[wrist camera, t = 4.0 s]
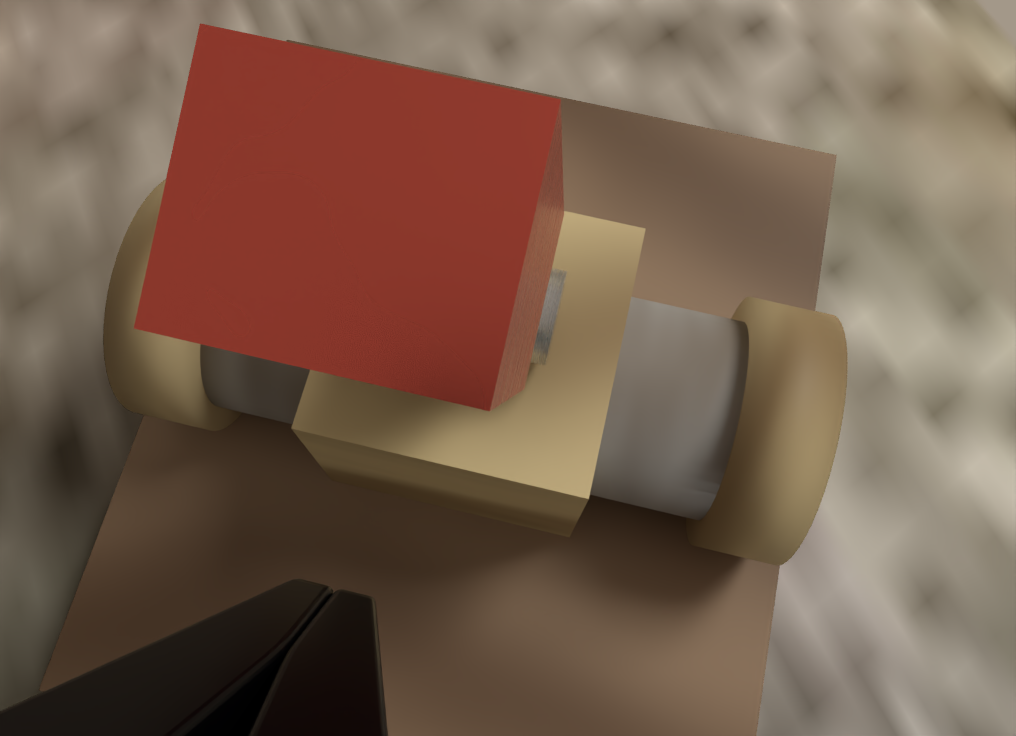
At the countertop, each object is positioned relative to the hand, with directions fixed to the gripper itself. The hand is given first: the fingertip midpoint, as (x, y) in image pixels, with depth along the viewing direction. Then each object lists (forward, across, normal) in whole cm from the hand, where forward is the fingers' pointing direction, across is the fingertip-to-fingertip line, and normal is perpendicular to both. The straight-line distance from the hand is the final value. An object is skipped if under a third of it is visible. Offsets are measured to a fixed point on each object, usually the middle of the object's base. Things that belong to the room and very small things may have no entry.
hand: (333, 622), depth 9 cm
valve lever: (+7, 0, +1) cm, 7 cm away
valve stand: (+12, 0, -4) cm, 13 cm away
